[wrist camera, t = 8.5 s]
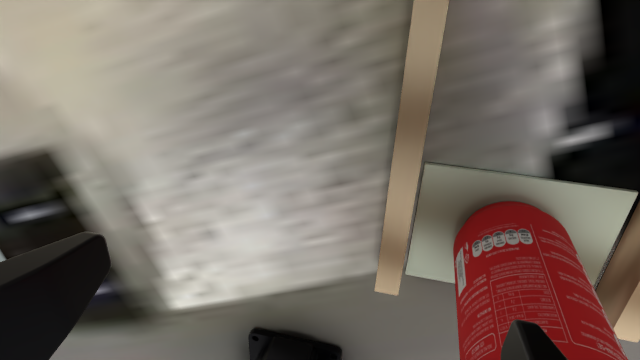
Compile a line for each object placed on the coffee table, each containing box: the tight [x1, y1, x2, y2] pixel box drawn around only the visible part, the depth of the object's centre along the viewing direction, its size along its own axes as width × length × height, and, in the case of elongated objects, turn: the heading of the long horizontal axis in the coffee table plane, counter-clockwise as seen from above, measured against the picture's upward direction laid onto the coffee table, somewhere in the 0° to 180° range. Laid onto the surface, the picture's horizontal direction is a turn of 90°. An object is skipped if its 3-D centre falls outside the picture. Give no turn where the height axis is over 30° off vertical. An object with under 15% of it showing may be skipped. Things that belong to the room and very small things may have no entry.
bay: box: [375, 0, 640, 342], centre depth 16 cm, size 20×12×4 cm, turn 178°
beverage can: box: [453, 201, 628, 360], centre depth 16 cm, size 5×5×12 cm
